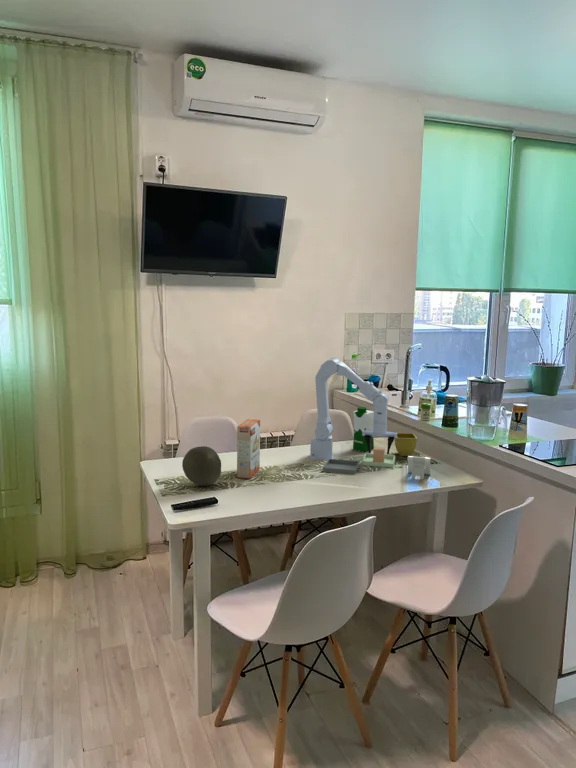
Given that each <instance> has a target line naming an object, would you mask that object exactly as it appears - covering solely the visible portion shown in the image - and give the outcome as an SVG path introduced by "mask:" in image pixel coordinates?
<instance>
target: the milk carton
mask: <svg viewBox="0 0 576 768" xmlns="http://www.w3.org/2000/svg"><path fill="white" fill-rule="evenodd" d="M352 415H353V442H352V450H354V449H355V450H354V451H358V450H360V451H359V452H362V451H364V452H363V453H367V452H369V450H368V446H367V443H366V441H365V438H364V437H365V436H362V431H363V430H366V431H368V430H373V417H374V410H368V409H367V407H365V406H358V407H357V410H354V411H352ZM374 438H375V436H371V451H373V449H374V447H375V444H374ZM366 451H367V452H366Z"/></svg>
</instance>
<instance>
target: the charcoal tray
mask: <svg viewBox="0 0 576 768" xmlns="http://www.w3.org/2000/svg"><path fill="white" fill-rule="evenodd" d="M359 466H360V460H350V459H349V460H348V459H340V458H339V459H337V458H332V459H328V460H326V462H325V464H324V465H323V467H322V472H326V473H327V472H328V473H334V474H335V473H336V474H346V475H347V474H349V475H355V474H356V473H357V471H358V469H359Z"/></svg>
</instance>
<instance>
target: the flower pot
mask: <svg viewBox="0 0 576 768" xmlns="http://www.w3.org/2000/svg"><path fill="white" fill-rule="evenodd" d="M396 433H397V438H394V446H395V449H396V452H397V453H398V456H400V457H408V456H412V455H413V454H414V453H415V450H416V446H417V442H418V437H417V436H416V435H415V434H414V432H412V433H411V432H408V433H407V432H396Z"/></svg>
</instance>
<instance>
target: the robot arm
mask: <svg viewBox="0 0 576 768" xmlns="http://www.w3.org/2000/svg"><path fill="white" fill-rule="evenodd" d="M334 374H336V376H344V377H345V378H346V379H348V380H349V381H350V382H352V383H353V384H354V385H355V386H357V387H358V389H359V393H360V394H362V395H363V396H364V397H365V398H367V399H368V400H369V401H371V402H372V404H373V407H374V408H373V411H374V417H373V430H368V431H366V430H363V431H362V436H365V437H364V438H365V441H366V443H367V446H368V450H369V451H368V453H372V450H371V436H374V437H379V438H382V437H383V438H387V448H386V449H387V450H386V455H390V449H391V446H392V444H393V442H395V438H397V433H398V432H393V431H388V430H387V428H388V403H389V397H388V395H387V394H386V392H383V391H382V389H381V390H380V389H379V388H377V387H376V386H375V385H374V383H373V381H368V380H367V381H365V380H363V379H362V378H361V377H360V376H359V375H358V374H357V373H355V372H354V371H353V370H352V369H351V368H350V367H349V366H348V365H347V364H345V362H343V361H341V360H340V359H339V358H337V357H331V358H329V359H328V360H325V361H324V362H323V363H322V364H321V365H320V367H319V369H318V371H317V373H316V375H315V378H314V379H315V380H314V381H315V395H316V408H317V420H316V428H315V430H314V435H315V436H316V437H311V440H310V449H309V450H310V452H309V455H310V456H309V457H310V458H309V459H312V460H323V461H328V459H334V457H335V454H333V438H334V437H333V435H332V434H333V432H334V428H335V427H334V424H333V423H332V418H331V416H330V406H329V390H328V389H329V388H328V387H329V386H328V380H329V379H330V378H331V377H332V376H333V375H334Z"/></svg>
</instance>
